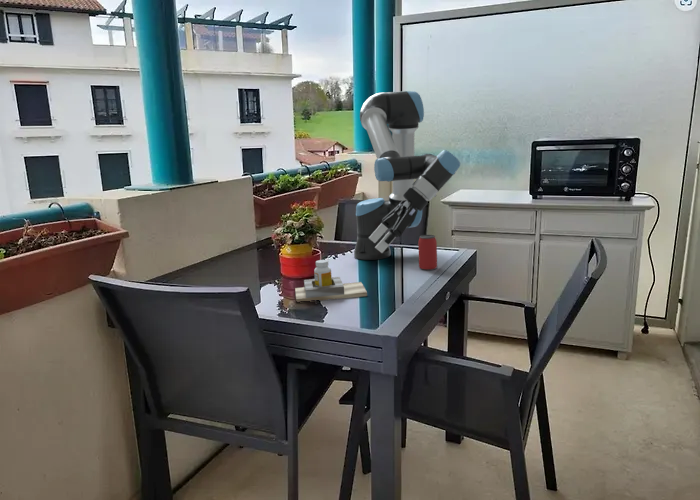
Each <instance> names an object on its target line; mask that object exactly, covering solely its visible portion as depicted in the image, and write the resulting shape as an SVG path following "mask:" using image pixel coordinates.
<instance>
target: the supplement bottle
mask: <svg viewBox="0 0 700 500" xmlns="http://www.w3.org/2000/svg"><path fill="white" fill-rule="evenodd" d="M313 271H314V272H313V273H314V274H313V275H314V279H315V287H322V286H332V268H331V267H330V266H329V260H327V259H319V260H316V261H315V268H314V270H313Z"/></svg>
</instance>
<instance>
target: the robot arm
mask: <svg viewBox="0 0 700 500" xmlns="http://www.w3.org/2000/svg"><path fill="white" fill-rule="evenodd" d="M424 108H425V107H424V103H423V100H422V97H421V95H420V93H419V92H417V91H413V90H412V91H411V90H404V91H388V92H378V93H377V92H376V93H375V94H373V95H371V96H369V97H368V98H367V99H366V100H365V101H364V102H363V104H362V106H361V108H360V111H359V120H360V124H361V126H362V128H364V129H365V130H366V132H367V134H368V137H369V140H370V143H371V145H372V148H373V151H374V153H375V156H376V159H375V160H374V167H373V170H374V171H373V172H374V176H375V179H376V180H377V181H378V182H392V192H391V193H390V194H389V196H388V201H386V200H385V199H384V198H383V197H377V198H369V199H366V200H365V199H364V200H362V201H360V202H358V203H356V206H355V217H356V218H355V219H356V231H357V232H356V234H357V235H356V236H357V238H356V243H355V247H354V251H353V256H354V258H355V259H358V260H361V261H362V260H364V261H372V260H374V261H375V260H382V259H387V258H389V257H390V256H391V253H392V252H391V251H392V250H391V248H390V247H391V246H390V245H391V244H392V242H394V241H395V239H396V238H398V237H399V238H400V237H401V236H402V234H403V233H404V232H405V231H406V229H410V228H416V227H418V226H419V224H420V223H421V221H422V219H423V218H422V217H423V210H424V208H425V207H426V206H427V205H428V202H430V201H431V200H433V198H436V197H437V194H438V192H439V191H440V190H441V189H442V188H443V187H444V186H445V185H446V183H447V182H448V181H449V180H450V179H451V178H452V177H453V176H454V175H455V174H456V172H457V171H458V169H460V167H461V162H460V160H459V159H458V157H456V156H455V155H454V154H453V153H452V152H450V151H449V150H446V149H443V150H441V151H440V152H439V153H438V154H437V155H435V154H432V153H424V154H421V155H415V132H416V131H417V130H418V128H419V123H420V124H421V123H422V122H423V121H424V117H425V109H424ZM386 231H388V232H387V233H386Z"/></svg>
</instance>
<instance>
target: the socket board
mask: <svg viewBox="0 0 700 500" xmlns="http://www.w3.org/2000/svg"><path fill="white" fill-rule="evenodd" d="M303 283H304V285H303V287H295V288H294V289H295V302H296V301H310V302H312V301H311V300H320V301H326V300H327V301H328V299H331V300H337V299H338V300H339V299H348V298H349V299H351V298H357V297H358V298H359V297H360V298H361V297H368V292H367V290H366V287H365V285H364V284H363V283H362V281H357V282H348V283H347V282H346V283H343V281H342V279H341V277H340V276H335V277H332V286H322V287H315V278H312V279H311V278H310V279H304V280H303Z"/></svg>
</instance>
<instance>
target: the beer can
mask: <svg viewBox="0 0 700 500" xmlns="http://www.w3.org/2000/svg"><path fill="white" fill-rule="evenodd" d="M437 243H438V242H437V239H436V235H434V234H422V235H420V236H419V239H418V243H417V244H418V245H417V246H418V267H419V269H420V270H422V271H423V270H424V271H432V270H436V269H437V268H438V247H437V246H438V244H437Z"/></svg>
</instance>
